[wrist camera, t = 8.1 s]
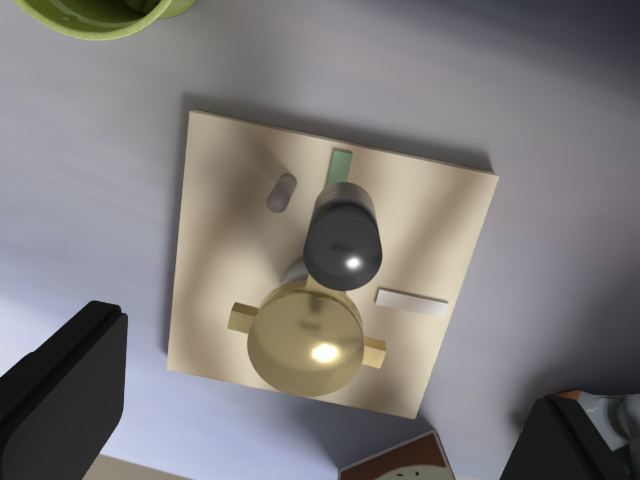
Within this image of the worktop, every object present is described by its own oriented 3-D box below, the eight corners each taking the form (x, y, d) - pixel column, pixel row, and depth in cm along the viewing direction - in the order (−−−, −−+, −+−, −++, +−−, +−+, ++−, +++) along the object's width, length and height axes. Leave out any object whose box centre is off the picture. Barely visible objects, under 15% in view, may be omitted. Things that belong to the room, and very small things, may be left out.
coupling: (267, 159, 23) (242, 188, 18) (436, 206, 24) (463, 249, 18) (223, 354, 28) (191, 427, 22) (365, 391, 28) (370, 472, 22)
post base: (493, 172, 30) (534, 201, 24) (412, 408, 37) (426, 481, 31) (195, 109, 30) (152, 121, 23) (171, 360, 37) (133, 423, 30)
